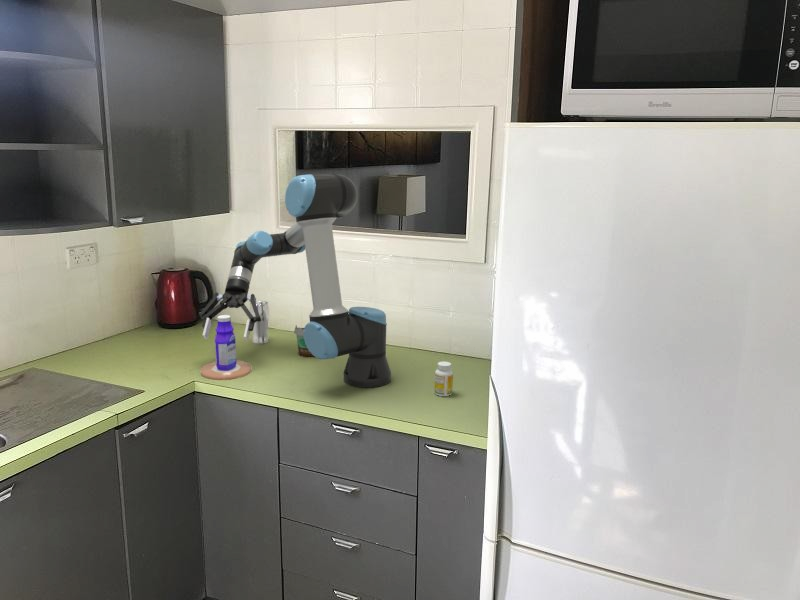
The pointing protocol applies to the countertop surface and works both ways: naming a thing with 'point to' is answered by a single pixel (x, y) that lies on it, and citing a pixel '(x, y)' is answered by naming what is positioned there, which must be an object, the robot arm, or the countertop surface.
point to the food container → (302, 343)
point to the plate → (236, 372)
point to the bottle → (225, 344)
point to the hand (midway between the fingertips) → (225, 338)
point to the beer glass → (260, 323)
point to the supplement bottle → (443, 379)
